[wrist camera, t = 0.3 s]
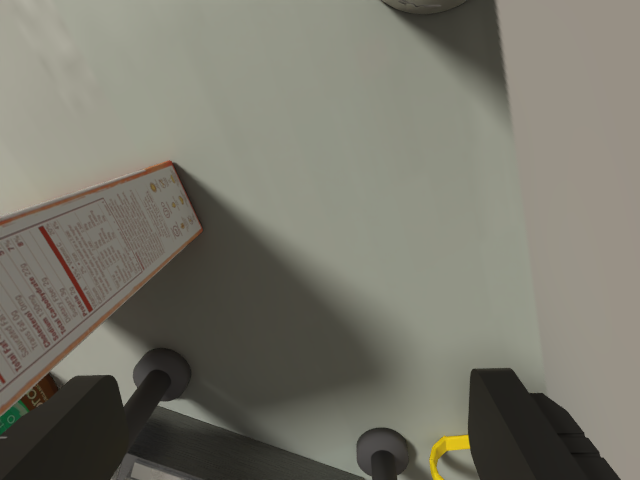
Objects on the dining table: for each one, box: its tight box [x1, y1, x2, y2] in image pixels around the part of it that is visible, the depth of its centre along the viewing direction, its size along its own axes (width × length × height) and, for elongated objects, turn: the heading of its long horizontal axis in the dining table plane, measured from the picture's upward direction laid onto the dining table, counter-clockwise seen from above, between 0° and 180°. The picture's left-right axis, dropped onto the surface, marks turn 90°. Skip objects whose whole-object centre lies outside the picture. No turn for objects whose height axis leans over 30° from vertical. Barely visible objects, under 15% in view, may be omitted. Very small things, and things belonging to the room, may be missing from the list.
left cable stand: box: [110, 348, 191, 479], centre depth 25 cm, size 4×4×18 cm
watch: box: [429, 435, 470, 480], centre depth 31 cm, size 6×3×6 cm, turn 101°
